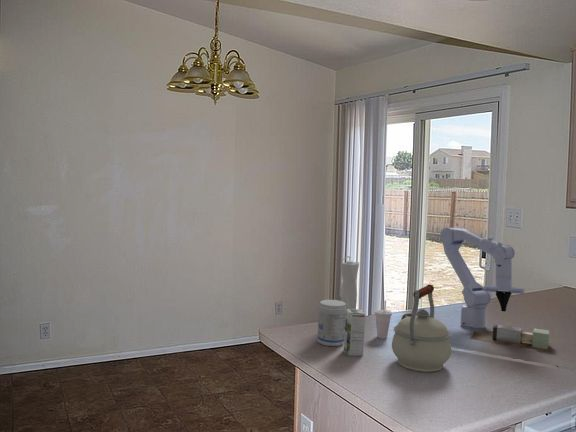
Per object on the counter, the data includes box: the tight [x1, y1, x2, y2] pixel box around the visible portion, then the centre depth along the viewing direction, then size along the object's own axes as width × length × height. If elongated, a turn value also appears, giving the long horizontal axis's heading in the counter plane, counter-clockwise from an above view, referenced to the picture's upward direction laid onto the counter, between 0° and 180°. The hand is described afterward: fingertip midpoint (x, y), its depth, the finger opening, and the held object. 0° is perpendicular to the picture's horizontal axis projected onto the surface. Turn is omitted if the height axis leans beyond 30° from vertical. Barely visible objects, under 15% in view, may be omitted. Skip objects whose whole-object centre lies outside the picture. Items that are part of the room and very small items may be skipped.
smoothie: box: [374, 300, 393, 339], centre depth 188 cm, size 6×6×14 cm
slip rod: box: [492, 324, 533, 343], centre depth 185 cm, size 16×4×4 cm, turn 61°
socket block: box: [532, 327, 550, 349], centre depth 181 cm, size 5×6×5 cm
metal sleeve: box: [497, 324, 523, 344], centre depth 186 cm, size 8×5×5 cm, turn 61°
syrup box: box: [343, 308, 366, 357], centre depth 168 cm, size 6×6×14 cm
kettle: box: [391, 284, 452, 373], centre depth 160 cm, size 25×18×25 cm
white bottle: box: [339, 256, 360, 319], centre depth 201 cm, size 8×8×28 cm
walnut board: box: [469, 330, 552, 353], centre depth 186 cm, size 27×12×1 cm, turn 61°
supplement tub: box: [317, 299, 346, 347], centre depth 178 cm, size 10×10×15 cm
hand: (503, 311), depth 195 cm, fingers closed
